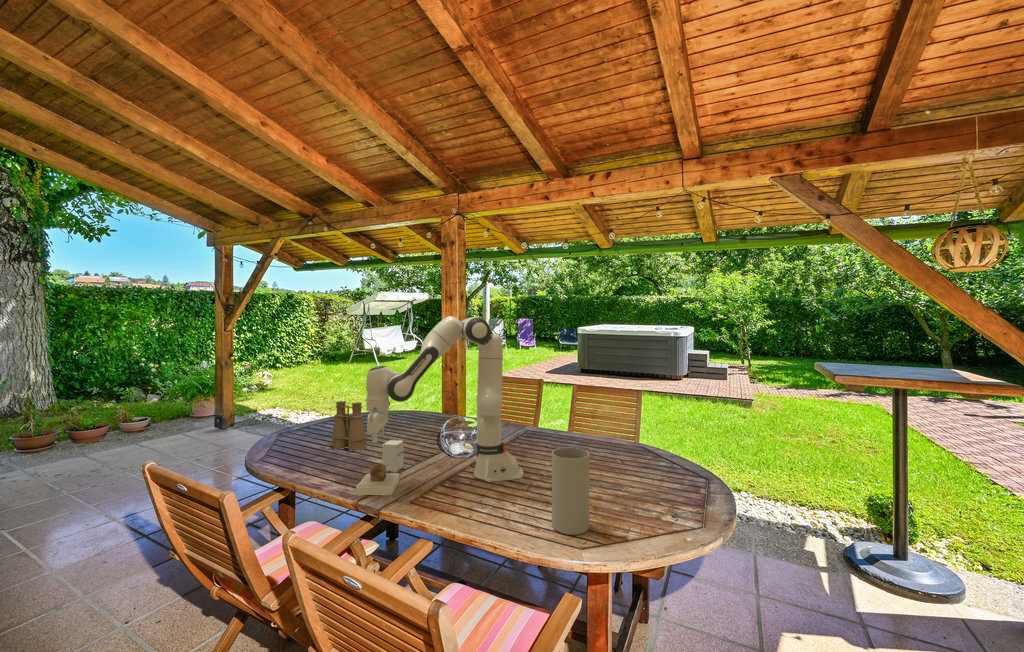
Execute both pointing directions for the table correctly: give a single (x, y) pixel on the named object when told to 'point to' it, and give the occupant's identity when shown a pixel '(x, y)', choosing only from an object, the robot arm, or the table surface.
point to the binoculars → (349, 427)
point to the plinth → (377, 485)
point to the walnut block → (378, 473)
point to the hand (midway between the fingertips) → (378, 438)
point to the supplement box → (392, 455)
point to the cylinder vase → (570, 490)
